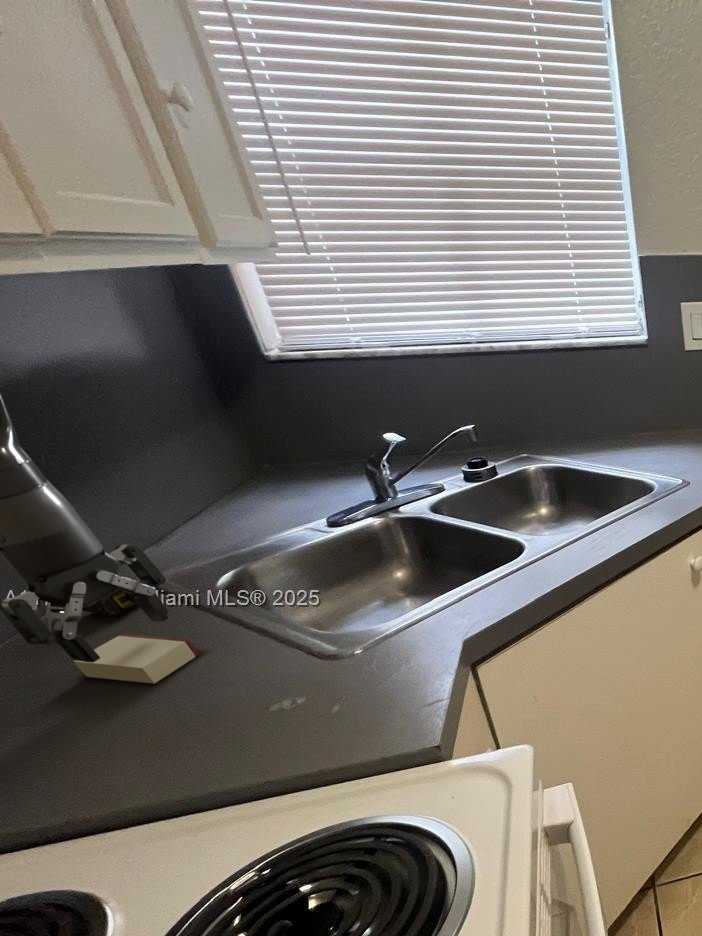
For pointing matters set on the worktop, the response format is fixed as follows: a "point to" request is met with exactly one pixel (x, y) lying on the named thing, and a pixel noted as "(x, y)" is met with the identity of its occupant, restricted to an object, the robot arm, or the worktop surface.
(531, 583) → the worktop surface
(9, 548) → the robot arm
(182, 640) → the pocket book
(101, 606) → the tape measure
